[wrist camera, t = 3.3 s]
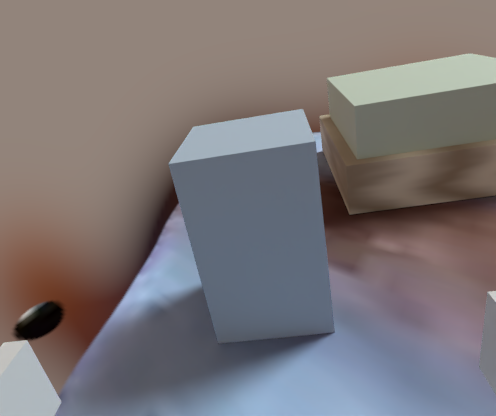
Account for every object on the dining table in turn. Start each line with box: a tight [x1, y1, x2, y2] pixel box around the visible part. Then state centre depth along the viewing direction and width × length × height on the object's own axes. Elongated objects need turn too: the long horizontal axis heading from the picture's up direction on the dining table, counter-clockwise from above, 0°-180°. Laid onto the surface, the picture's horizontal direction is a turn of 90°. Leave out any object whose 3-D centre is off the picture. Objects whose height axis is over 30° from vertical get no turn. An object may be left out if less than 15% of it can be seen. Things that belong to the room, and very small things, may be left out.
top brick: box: [327, 54, 496, 160], centre depth 34 cm, size 14×14×4 cm
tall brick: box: [169, 109, 335, 344], centre depth 20 cm, size 6×6×10 cm
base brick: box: [319, 114, 496, 215], centre depth 35 cm, size 16×16×4 cm
